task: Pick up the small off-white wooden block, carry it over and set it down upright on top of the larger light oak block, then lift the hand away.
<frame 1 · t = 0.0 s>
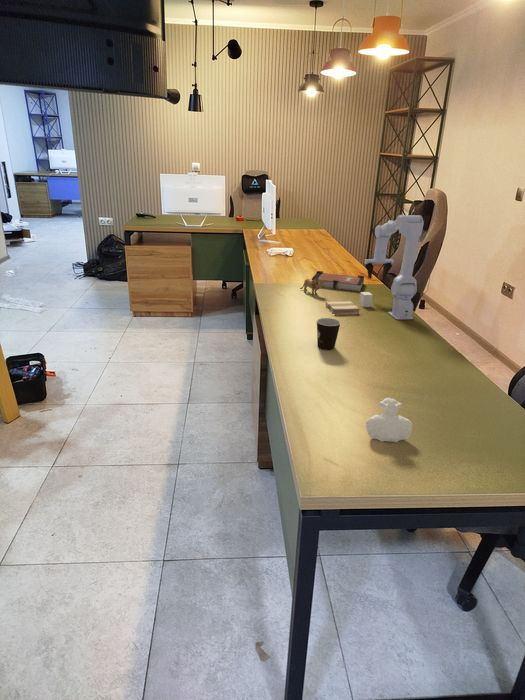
hand: (376, 278, 238), 10 cm above the table, tool pointing down, fingers open, 7 cm apart
lion figurine: (311, 293, 245), on the table
coffee mug: (326, 345, 181), on the table
bust: (386, 436, 125), on the table
book: (337, 286, 261), on the table
white block: (365, 305, 229), on the table
oak block: (341, 311, 221), on the table
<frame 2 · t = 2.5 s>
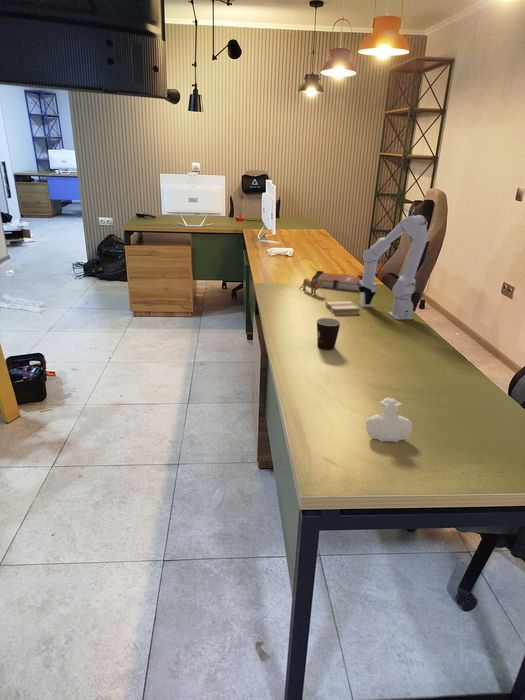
hand: (365, 302, 228), 1 cm above the table, tool pointing down, fingers closed on white block, 4 cm apart
white block: (365, 305, 229), on the table, touching gripper
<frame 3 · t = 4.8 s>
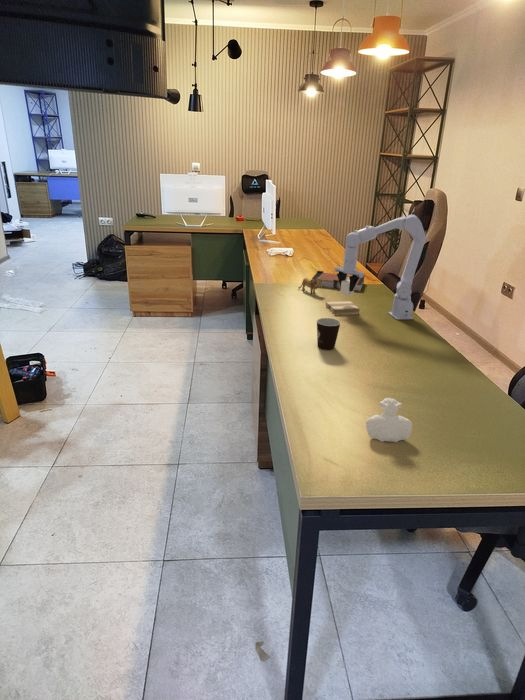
hand: (346, 289, 218), 9 cm above the table, tool pointing down, fingers closed on white block, 4 cm apart
white block: (346, 294, 219), point 7 cm above the table, touching gripper
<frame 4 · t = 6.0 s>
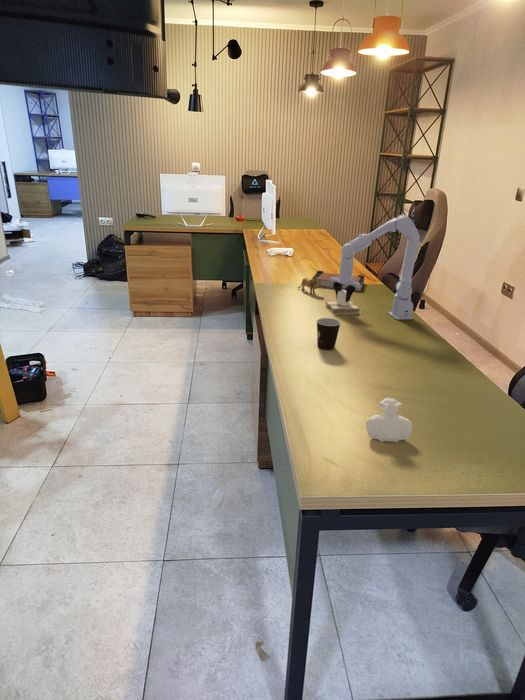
hand: (342, 300, 219), 5 cm above the table, tool pointing down, fingers closed on white block, 4 cm apart
white block: (342, 304, 220), point 3 cm above the table, touching gripper
when the fingers open (5 cm above the table, at t = 7.0 s): white block stays where it is, resting on oak block.
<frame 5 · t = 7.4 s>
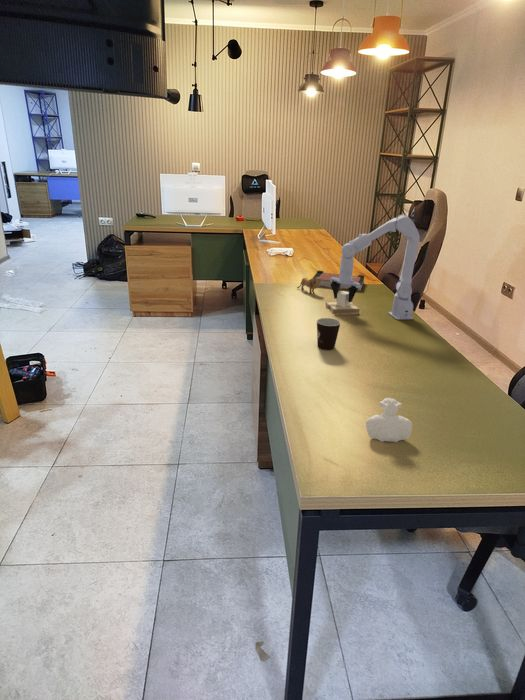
hand: (342, 300, 219), 5 cm above the table, tool pointing down, fingers open, 7 cm apart
white block: (342, 305, 220), point 2 cm above the table, touching oak block
oak block: (341, 311, 221), on the table, touching white block
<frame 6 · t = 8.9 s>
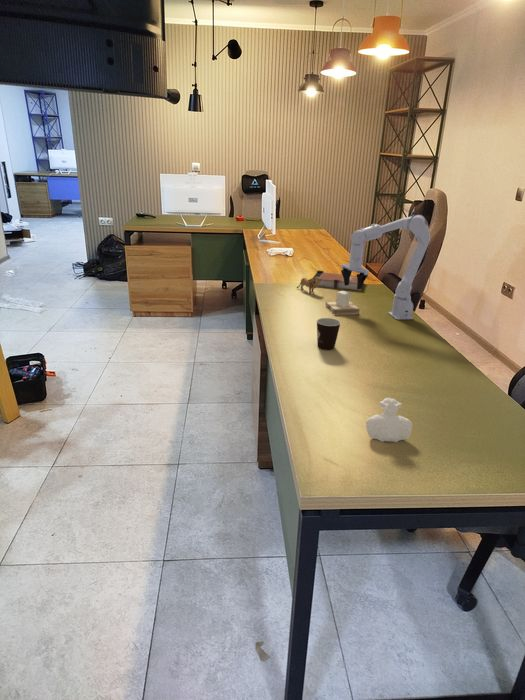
hand: (352, 287, 220), 10 cm above the table, tool pointing down, fingers open, 7 cm apart
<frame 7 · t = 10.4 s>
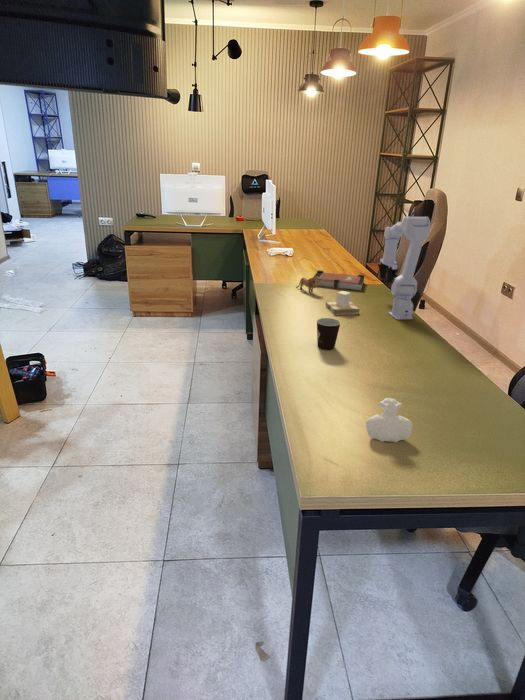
hand: (385, 280, 233), 10 cm above the table, tool pointing down, fingers open, 7 cm apart
white block: (342, 305, 220), point 2 cm above the table
oak block: (341, 311, 221), on the table
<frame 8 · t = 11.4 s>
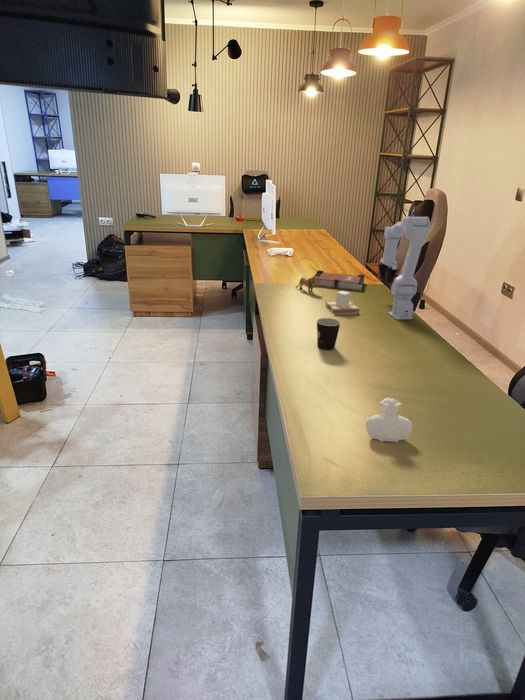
hand: (385, 280, 233), 10 cm above the table, tool pointing down, fingers open, 7 cm apart
white block: (342, 305, 220), point 2 cm above the table, touching oak block
oak block: (341, 311, 221), on the table, touching white block
at the end: white block inside the target area on the oak block (0.1 cm from its centre), point 3.0 cm above the oak block's base; the gripper is holding nothing; white block tilted 0° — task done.
